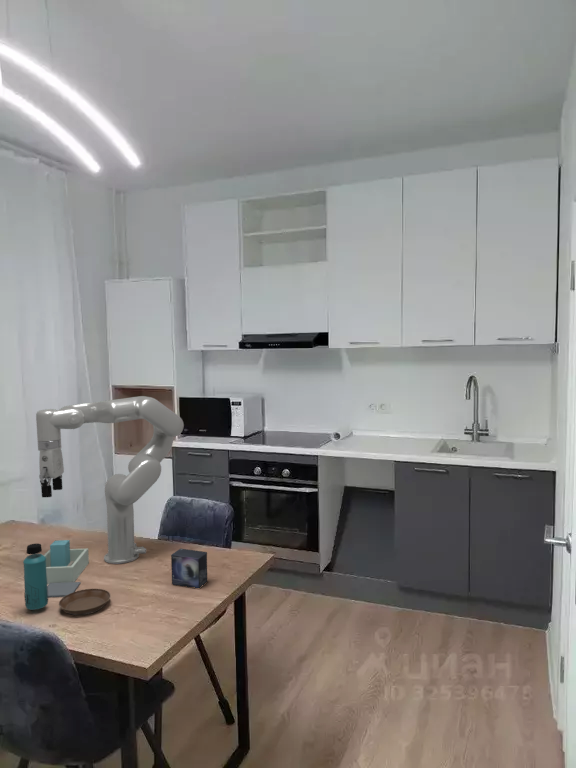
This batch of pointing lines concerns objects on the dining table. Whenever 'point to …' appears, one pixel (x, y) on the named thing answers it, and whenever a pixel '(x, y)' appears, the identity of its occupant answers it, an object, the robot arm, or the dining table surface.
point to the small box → (189, 568)
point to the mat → (62, 589)
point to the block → (60, 553)
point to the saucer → (84, 601)
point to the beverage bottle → (35, 578)
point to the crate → (67, 567)
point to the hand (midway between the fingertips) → (52, 493)
